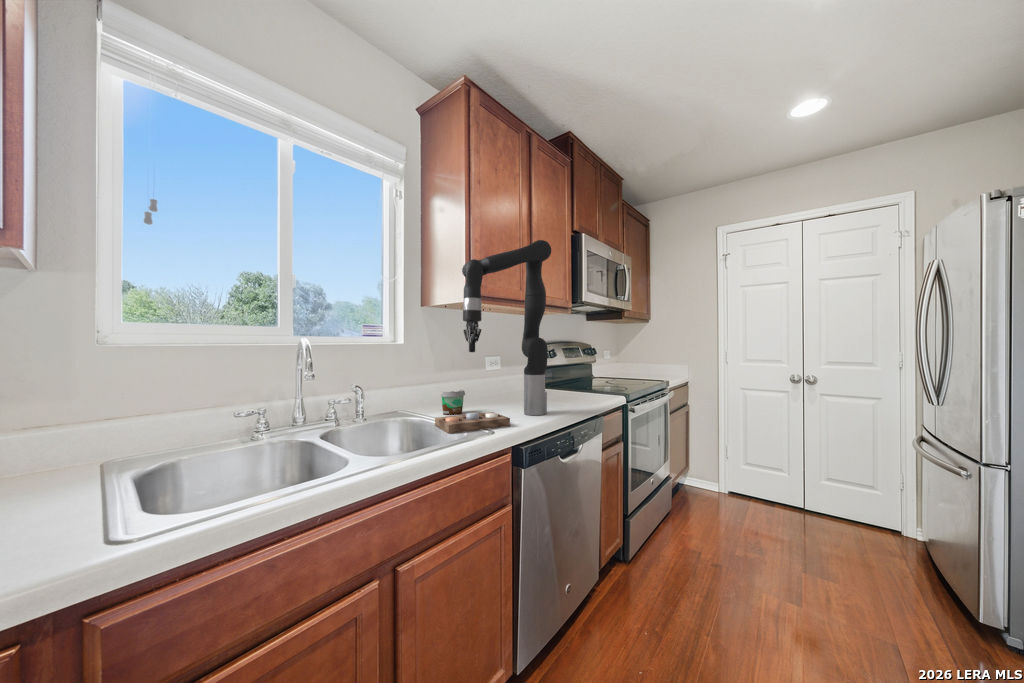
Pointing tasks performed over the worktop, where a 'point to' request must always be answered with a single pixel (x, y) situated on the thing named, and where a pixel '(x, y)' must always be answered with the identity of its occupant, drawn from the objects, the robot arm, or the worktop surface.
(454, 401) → the food container
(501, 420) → the button panel
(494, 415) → the cream button
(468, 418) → the slate button
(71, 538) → the worktop surface
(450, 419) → the terracotta button
